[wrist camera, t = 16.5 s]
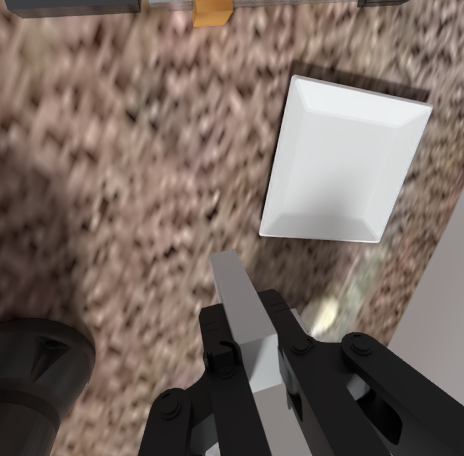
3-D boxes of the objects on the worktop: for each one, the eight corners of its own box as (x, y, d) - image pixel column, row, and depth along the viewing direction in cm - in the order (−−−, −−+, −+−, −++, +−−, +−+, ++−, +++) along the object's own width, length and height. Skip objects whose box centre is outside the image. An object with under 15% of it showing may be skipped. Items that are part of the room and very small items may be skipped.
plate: (370, 237, 41) (380, 243, 40) (254, 229, 37) (259, 236, 35) (421, 104, 34) (435, 104, 32) (285, 75, 30) (293, 73, 28)
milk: (235, 376, 48) (295, 633, 24) (223, 328, 43) (283, 595, 19) (299, 356, 49) (414, 583, 26) (295, 308, 44) (432, 535, 21)
